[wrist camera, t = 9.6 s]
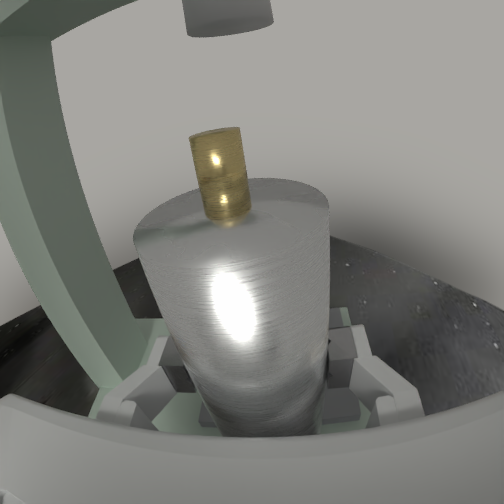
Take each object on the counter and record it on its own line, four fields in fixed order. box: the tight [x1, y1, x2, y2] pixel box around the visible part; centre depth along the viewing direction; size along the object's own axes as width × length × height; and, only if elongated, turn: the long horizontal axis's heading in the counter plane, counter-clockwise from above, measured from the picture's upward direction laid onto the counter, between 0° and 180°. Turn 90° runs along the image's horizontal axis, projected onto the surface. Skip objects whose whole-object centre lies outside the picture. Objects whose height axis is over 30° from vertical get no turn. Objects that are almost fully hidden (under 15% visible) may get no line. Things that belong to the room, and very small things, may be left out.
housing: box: [133, 127, 330, 437], centre depth 11 cm, size 5×5×16 cm
